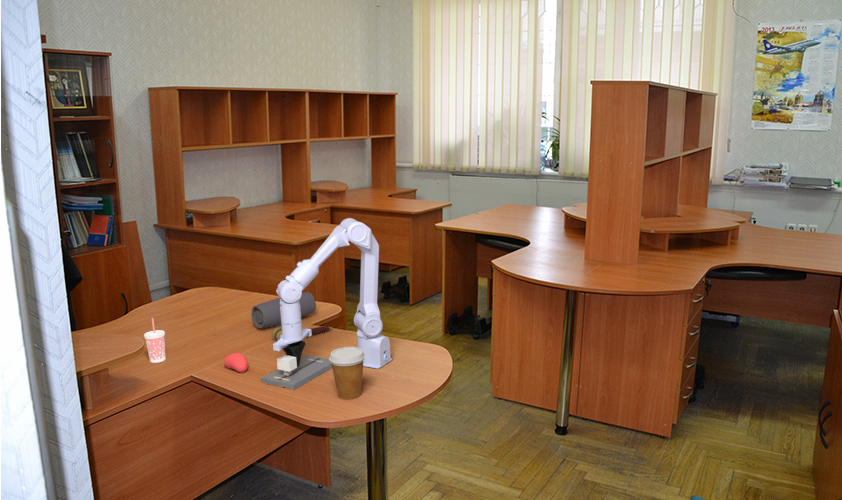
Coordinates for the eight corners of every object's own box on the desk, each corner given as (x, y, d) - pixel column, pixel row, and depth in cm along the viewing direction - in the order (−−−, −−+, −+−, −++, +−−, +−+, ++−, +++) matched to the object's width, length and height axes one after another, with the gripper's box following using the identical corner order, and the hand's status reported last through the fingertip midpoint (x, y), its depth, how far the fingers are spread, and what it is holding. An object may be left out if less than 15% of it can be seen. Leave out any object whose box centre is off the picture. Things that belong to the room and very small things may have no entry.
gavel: (324, 318, 232) (339, 325, 224) (325, 331, 232) (339, 337, 225) (271, 328, 219) (285, 335, 211) (271, 341, 219) (285, 349, 212)
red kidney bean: (244, 367, 200) (233, 350, 200) (255, 364, 193) (243, 347, 192) (231, 377, 197) (219, 360, 196) (241, 375, 190) (229, 357, 189)
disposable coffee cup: (368, 386, 179) (365, 345, 176) (366, 401, 169) (363, 358, 167) (333, 388, 178) (330, 347, 176) (330, 403, 169) (326, 359, 167)
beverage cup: (147, 358, 207) (142, 316, 204) (168, 355, 209) (162, 314, 207) (147, 365, 202) (141, 322, 199) (168, 361, 204) (162, 319, 201)
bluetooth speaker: (303, 313, 249) (301, 288, 247) (318, 318, 243) (316, 292, 241) (251, 328, 233) (248, 302, 231) (265, 334, 227) (263, 306, 225)
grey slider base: (337, 364, 195) (337, 359, 195) (293, 390, 178) (293, 384, 178) (306, 359, 201) (305, 354, 201) (261, 382, 184) (260, 377, 184)
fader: (297, 373, 185) (296, 357, 184) (290, 377, 182) (288, 360, 181) (285, 371, 187) (284, 354, 186) (278, 375, 184) (276, 358, 183)
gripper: (297, 313, 193) (300, 356, 195) (263, 327, 180) (267, 373, 183) (315, 315, 189) (319, 359, 192) (282, 330, 177) (286, 377, 180)
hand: (295, 366), depth 187 cm, fingers closed
